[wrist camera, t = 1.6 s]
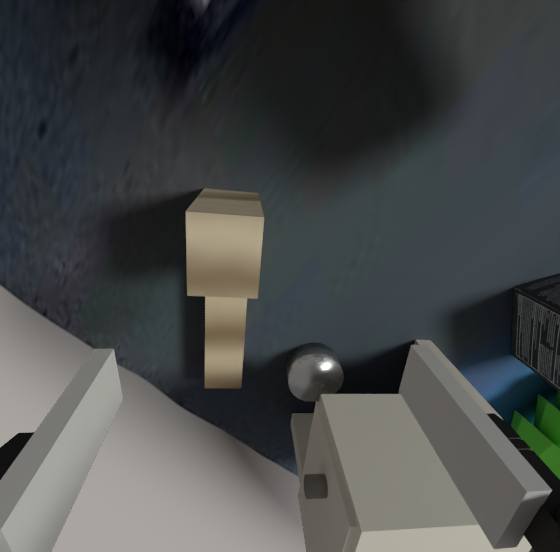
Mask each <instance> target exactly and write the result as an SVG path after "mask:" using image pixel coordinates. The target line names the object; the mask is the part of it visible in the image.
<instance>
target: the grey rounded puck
mask: <svg viewBox="0 0 560 552" xmlns="http://www.w3.org/2000/svg"><path fill="white" fill-rule="evenodd" d="M286 372H287V378H288V384H289V388H290V391H291V392H292V394H293V395H294V396H295V397H297V398H298V399H300V400H303V401H308V402H317V401H320V396H321V394H335V393H336V392H337V391H338V390H339V389H340V387H341V386H342V383H343V379H344V375H343V371H342V368H341V366H340V364H339V361H338V359H337V356H336V354H335V352H334V351H333V350H332V349H331V348H330V347H329V346H327V345H325V344H321V343H307V344H304V345H301V346H299V347H298V348H296V349H295V350H294V351H292V353H291V354H290V355H289V357H288V358H287V361H286Z"/></svg>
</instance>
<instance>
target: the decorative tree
mask: <svg viewBox="0 0 560 552" xmlns="http://www.w3.org/2000/svg"><path fill="white" fill-rule="evenodd" d="M511 427H512V428H513V429H514V430H515V431H516V432H517V433H518V434H519V436H520V437H521V439H522V440H524V441H525V442H526V443H527V444H528V445H529V447H530V448H531V450H532V451H534V452H535V453H536V454H537V455H538V456H539V457H540V459H541V460H542V461H543V462H544V463H545V464H546V465H547V466H548V467H549V468H550V470H551V471H552V472H553V473H554V474H555V475H556V476H557V477H558V478H559V479H560V391H557V396H556V400H555V405H554V406H553V405H552V404H551V403H550V402H548V401H547V400H546V399H545V398H543V397H542V396H541V395H539V394H538V399H537V406H536V413H535V419H534V426H533V425H532V424H531V423H530V422H529V421H528V420H526V419H525V418H524V417H523V416H522V415H521V414H519V413H518V412H517V411H516V410H514V414H513V418H512V422H511Z"/></svg>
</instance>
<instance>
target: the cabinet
mask: <svg viewBox="0 0 560 552" xmlns="http://www.w3.org/2000/svg"><path fill="white" fill-rule="evenodd" d="M414 345H427V346H428V347H429V348H430V349H431V351H432V352H433V353H434V354H435V355H436V356H437V357H438V359H439V360H440V361H441V362H442V363H443V364H444V366H445V367H446V368H447V369H448V370H449V371H450V372H451V374H452V375H453V376H454V377H455V378H456V379H457V381H458V382H459V383H460V384H461V385H462V386H463V388H464V389H465V390H466V391H467V392H468V393H469V394H470V396H471V397H472V398H473V399H474V400H475V401H476V403H477V404H478V405H479V406H480V407H481V408H482V410H483V411H484V412H485V413H486V414H489V413H494V414H496V415H497V416H498V417H500V418H501V419H502V417H501V416H500V415H499V414H498V413H497V412H496V411H495V410H494V409H493V408H492V407H491V405H490V404H489V403H488V402H487V401H486V400H485V399H484V398H483V397H482V396H481V395H480V393H479V392H478V391H477V390H476V389H475V388H474V387H473V386H472V385H471V384H470V383H469V382H468V380H467V379H466V378H465V377H464V376H463V375H462V374H461V373H460V372H459V371H458V370H457V368H456V367H455V366H454V365H453V364H452V363H451V362H450V361H449V360H448V359H447V358H446V357H445V355H444V354H443V353H442V352H441V351H440V350H439V349H438V348H437V347H436V346H435V345H434V343H433V342H432V341H431V340H415V342H414ZM290 425H291V431H292V437H293V443H294V450H295V456H296V462H297V468H298V475H299V481H300V489H299V494H298V498H299V505H300V512H301V519H302V525H303V532H304V538H305V545H306V552H529V551H530V549H531V548H532V546H531V545H530V543H529V542H528V541H527V539H526V538H525V536H523V538H522V539H521V541H520V542H519V544H518V546H517V547H513V548H502V549H493V547H492V545H491V544H490V542H489V540H488V539H487V537H486V535H485V534H484V532H483V530H482V529H481V527H480V525H479V524H478V522H477V520H476V519H475V517H474V515H473V514H472V512H471V510H470V509H469V507H468V505H467V504H466V502H465V500H464V499H463V497H462V495H461V494H460V492H459V490H458V489H457V487H456V485H455V484H454V482H453V480H452V479H451V477H450V475H449V474H448V472H447V470H446V469H445V467H444V465H443V464H442V462H441V460H440V459H439V457H438V455H437V454H436V452H435V450H434V449H433V447H432V445H431V444H430V442H429V440H428V439H427V437H426V435H425V434H424V432H423V430H422V429H421V427H420V425H419V424H418V422H417V420H416V419H415V417H414V415H413V414H412V412H411V410H410V409H409V407H408V405H407V404H406V402H405V400H404V399H403V397H402V395H401V394H400V392H398V394H321V396H320V401H319V402H316V404H315V409H314V413H292V418H291V424H290Z"/></svg>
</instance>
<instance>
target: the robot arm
mask: <svg viewBox="0 0 560 552" xmlns="http://www.w3.org/2000/svg"><path fill="white" fill-rule="evenodd" d="M399 392H400V394H401V395H402V397H403V399H404V400H405V402H406V404H407V405H408V407H409V409H410V410H411V412H412V414H413V415H414V417H415V419H416V420H417V422H418V424H419V425H420V427H421V429H422V430H423V432H424V434H425V435H426V437H427V439H428V440H429V442H430V444H431V445H432V447H433V449H434V450H435V452H436V454H437V455H438V457H439V459H440V460H441V462H442V464H443V465H444V467H445V469H446V470H447V472H448V474H449V475H450V477H451V479H452V480H453V482H454V484H455V485H456V487H457V489H458V490H459V492H460V494H461V495H462V497H463V499H464V500H465V502H466V504H467V505H468V507H469V509H470V510H471V512H472V514H473V515H474V517H475V519H476V520H477V522H478V524H479V525H480V527H481V529H482V530H483V532H484V534H485V535H486V537H487V539H488V540H489V542H490V544H491V545H492V547H493V549H502V548H513V547H517V546H518V544H519V542H520V541H521V539H522V538H523V536H525V538H526V539H527V541H528V542H529V543H530V545H531V546H532V548H531V549H530V551H529V552H560V479H559V478H558V477H557V476H556V475H555V474H554V473H553V472H552V471H551V470H550V468H549V467H548V466H547V465H546V464H545V463H544V462H543V461H542V460H541V459H540V457H539V456H538V455H537V454H536V453H535V452H534V451H532V450H531V448H530V447H529V445H528V444H527V443H526V442H525V441H524V440H522V439H521V437H520V436H519V434H518V433H517V432H516V431H515V430H514V429H513V428H512V427H511V426H510V425H509V424H508V423H507V422H505V421H504V420H503V419H501V418H500V417H498V416H497V415H496V414H494V413H489V414H486V413H485V412H484V411H483V410H482V408H481V407H480V406H479V405H478V404H477V403H476V401H475V400H474V399H473V398H472V397H471V396H470V394H469V393H468V392H467V391H466V390H465V389H464V388H463V386H462V385H461V384H460V383H459V382H458V381H457V379H456V378H455V377H454V376H453V375H452V374H451V372H450V371H449V370H448V369H447V368H446V367H445V366H444V364H443V363H442V362H441V361H440V360H439V359H438V357H437V356H436V355H435V354H434V353H433V352H432V351H431V349H430V348H429V347H428V346H427V345H411V347H410V351H409V354H408V358H407V362H406V366H405V369H404V373H403V377H402V380H401V384H400V388H399ZM122 400H123V396H122V391H121V385H120V380H119V375H118V369H117V364H116V359H115V353H114V349H94V350H93V352H92V353H91V354H90V356H89V357H88V358H87V360H86V361H85V363H84V364H83V365H82V367H81V368H80V370H79V371H78V373H77V374H76V375H75V377H74V378H73V380H72V381H71V382H70V384H69V385H68V387H67V388H66V389H65V391H64V392H63V393H62V395H61V396H60V398H59V399H58V400H57V402H56V403H55V405H54V406H53V407H52V409H51V410H50V412H49V413H48V414H47V416H46V417H45V419H44V420H43V421H42V423H41V424H40V426H39V427H38V428H37V430H36V431H35V432H34V433H18V434H17V435H15V436H14V437H13V438H12V439H11V440H9V441H8V442H7V443H5V444H4V445H3V446H2V447H1V448H0V552H51V551H52V549H53V547H54V545H55V543H56V541H57V539H58V536H59V534H60V532H61V530H62V528H63V525H64V524H65V521H66V519H67V517H68V515H69V513H70V510H71V509H72V506H73V504H74V502H75V500H76V498H77V495H78V493H79V492H80V490H81V487H82V485H83V483H84V481H85V479H86V477H87V475H88V472H89V470H90V468H91V466H92V464H93V462H94V460H95V458H96V455H97V453H98V451H99V449H100V447H101V445H102V442H103V441H104V438H105V436H106V434H107V432H108V430H109V428H110V426H111V423H112V421H113V419H114V417H115V415H116V413H117V411H118V409H119V406H120V404H121V402H122Z"/></svg>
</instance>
